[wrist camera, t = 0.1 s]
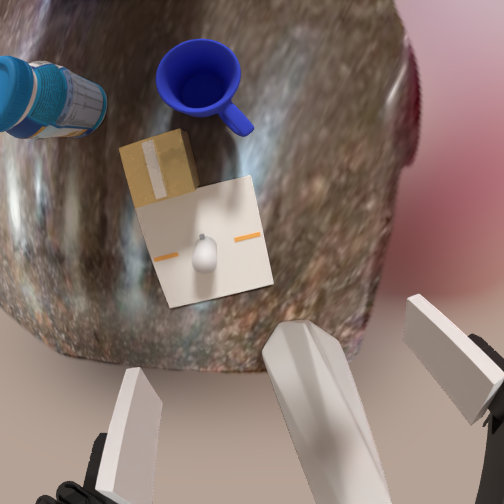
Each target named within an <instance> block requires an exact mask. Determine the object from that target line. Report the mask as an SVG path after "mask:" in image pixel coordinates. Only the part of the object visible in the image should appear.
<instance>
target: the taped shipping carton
mask: <svg viewBox="0 0 504 504" xmlns="http://www.w3.org/2000/svg"><path fill="white" fill-rule="evenodd" d="M119 151H120V155H121V159H122V163H123V167H124V171H125V175H126V178H127V182H128V186H129V189H130V193H131V196H132V200H133V203H134V207H135V208H139V207H142V206H145V205H149V204H152V203H155V202H159V201H162V200H166V199H169V198H173V197H176V196H180V195H184V194H187V193H191V192H195V191H196V189H197V187H198V185H199V184H200V181H199V177H198V173H197V168H196V164H195V160H194V156H193V152H192V148H191V144H190V139H189V135H188V133H187V132H185V131H184V130H182V129H176V130H173V131H169V132H166V133H163V134H159V135H156V136H153V137H150V138H147V139H144V140H141V141H138V142H135V143H132V144H129V145H126V146H123V147H121V148H119Z"/></svg>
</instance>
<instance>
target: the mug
mask: <svg viewBox="0 0 504 504" xmlns="http://www.w3.org/2000/svg"><path fill="white" fill-rule="evenodd" d="M240 78H241V70H240V65H239V62H238V59H237V58H236V56H235V55H234V53H233V52H232V51H231V50H230V49H229V48H228V47H226V46H225V45H223V44H221V43H219V42H217V41H214V40H209V39H193V40H189V41H186V42H183V43H181V44H179V45H177V46H175V47H174V48H172V49H171V50H170V51H169V52H168V53H167V54H166V55H165V56H164V57H163V59H162V60H161V62H160V64H159V66H158V69H157V72H156V87H157V90H158V93H159V95H160V97H161V98H162V99H163V101H164V102H165V103H166V104H167V105H168V106H170V107H171V108H173V109H175V110H177V111H179V112H182V113H184V114H187V115H190V116H193V117H208V116H211V115H214V114H218V115H219V117H220V118H221V119H222V120H223V122H224V123H225V124H226V125H227V126H228V127H229V128H230V129H231V130H232V131H233V132H234V133H235V134H237V135H239V136H242V137H245V136H247V135H249V134H250V133H251V132H252V131H253V130H254V126H253V125H252V124H251V122H250V121H249V120H248V119H247V118H246V117H245V115H244V114H243V113H242V112H241V111H240V110H239V109H238V108H237V107H236V106H235V105H234V104H233V103H232V102H231V99H232V97H233V95H234V94H235V92H236V90H237V88H238V86H239V83H240Z"/></svg>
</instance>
